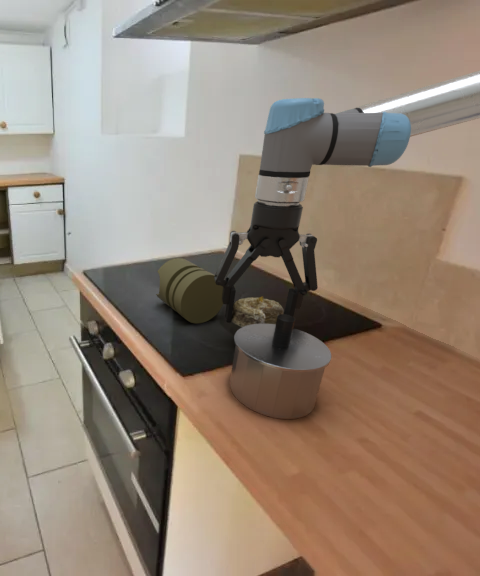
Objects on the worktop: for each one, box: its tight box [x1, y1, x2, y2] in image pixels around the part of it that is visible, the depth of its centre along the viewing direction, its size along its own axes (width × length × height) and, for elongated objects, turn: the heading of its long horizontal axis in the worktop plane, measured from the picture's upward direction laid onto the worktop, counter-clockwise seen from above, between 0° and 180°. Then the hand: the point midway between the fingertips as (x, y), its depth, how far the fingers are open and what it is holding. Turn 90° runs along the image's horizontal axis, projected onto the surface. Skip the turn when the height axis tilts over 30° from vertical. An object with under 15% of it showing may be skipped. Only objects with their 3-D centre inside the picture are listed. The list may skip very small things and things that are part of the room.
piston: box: [155, 257, 224, 324], centre depth 86 cm, size 11×12×11 cm
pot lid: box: [233, 313, 332, 372], centre depth 57 cm, size 13×13×6 cm
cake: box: [231, 296, 285, 328], centre depth 71 cm, size 10×10×5 cm
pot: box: [229, 345, 326, 420], centre depth 59 cm, size 12×12×8 cm
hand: (256, 321), depth 72 cm, fingers closed on cake, 10 cm apart
